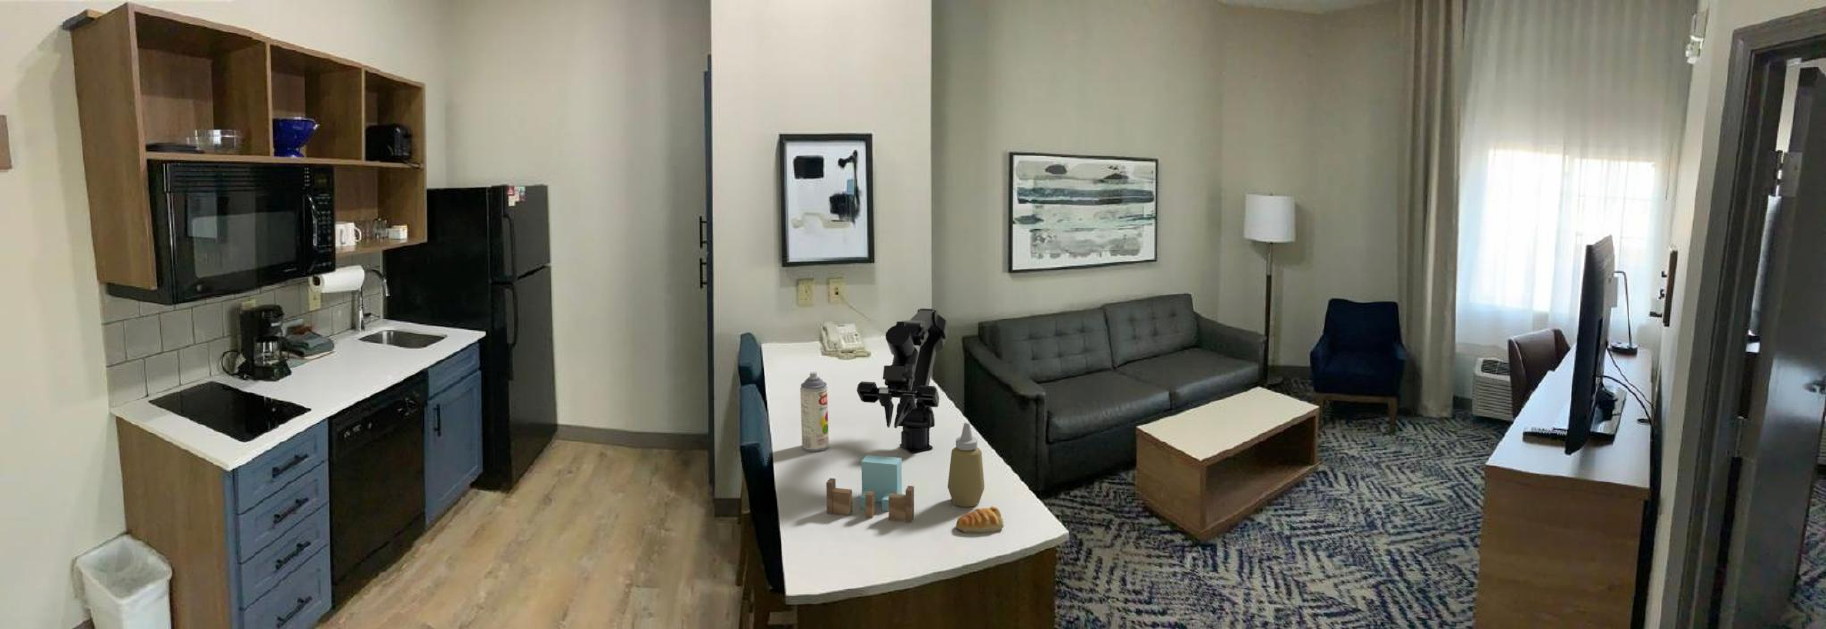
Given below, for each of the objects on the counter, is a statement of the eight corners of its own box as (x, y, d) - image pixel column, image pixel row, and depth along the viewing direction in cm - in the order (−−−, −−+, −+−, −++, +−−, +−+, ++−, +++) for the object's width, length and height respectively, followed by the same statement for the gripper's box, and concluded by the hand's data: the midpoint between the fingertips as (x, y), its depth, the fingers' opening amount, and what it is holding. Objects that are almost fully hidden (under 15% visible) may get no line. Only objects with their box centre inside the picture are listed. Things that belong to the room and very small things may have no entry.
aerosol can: (824, 452, 208) (822, 376, 204) (798, 451, 210) (796, 375, 206) (831, 443, 215) (829, 369, 211) (806, 441, 216) (804, 368, 212)
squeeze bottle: (988, 497, 182) (989, 419, 178) (979, 512, 174) (980, 431, 171) (953, 492, 184) (954, 415, 181) (942, 506, 177) (943, 427, 173)
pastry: (963, 538, 163) (963, 520, 162) (950, 524, 169) (950, 507, 168) (1006, 531, 166) (1006, 513, 165) (992, 517, 172) (992, 500, 171)
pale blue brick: (867, 492, 184) (866, 454, 182) (901, 496, 182) (901, 457, 180) (856, 507, 176) (855, 468, 175) (892, 511, 175) (892, 471, 173)
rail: (830, 508, 176) (830, 477, 175) (914, 517, 172) (914, 486, 170) (827, 513, 174) (826, 482, 172) (911, 522, 169) (911, 490, 168)
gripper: (858, 348, 191) (844, 407, 182) (936, 352, 186) (925, 413, 178) (868, 371, 200) (855, 429, 191) (943, 376, 195) (933, 436, 187)
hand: (891, 426), depth 187 cm, fingers closed
